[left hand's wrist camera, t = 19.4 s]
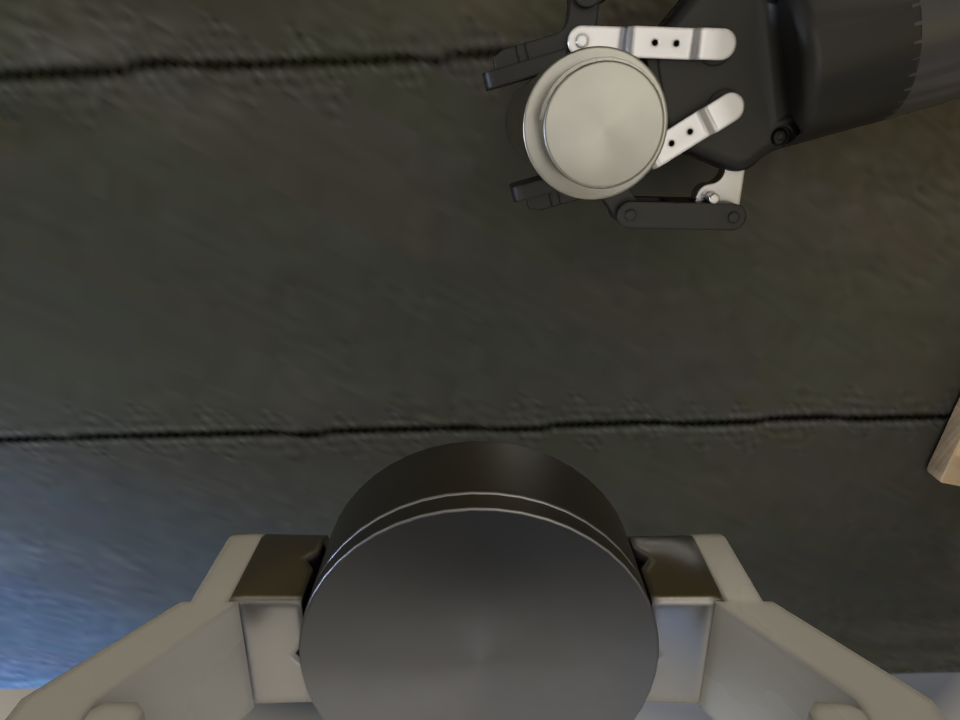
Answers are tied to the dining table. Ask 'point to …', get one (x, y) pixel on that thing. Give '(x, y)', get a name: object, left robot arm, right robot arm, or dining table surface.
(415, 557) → the lid
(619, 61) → the dark grey cylindrical bottle
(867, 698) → the left robot arm
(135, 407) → the dining table surface
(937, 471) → the pounding bench toy
